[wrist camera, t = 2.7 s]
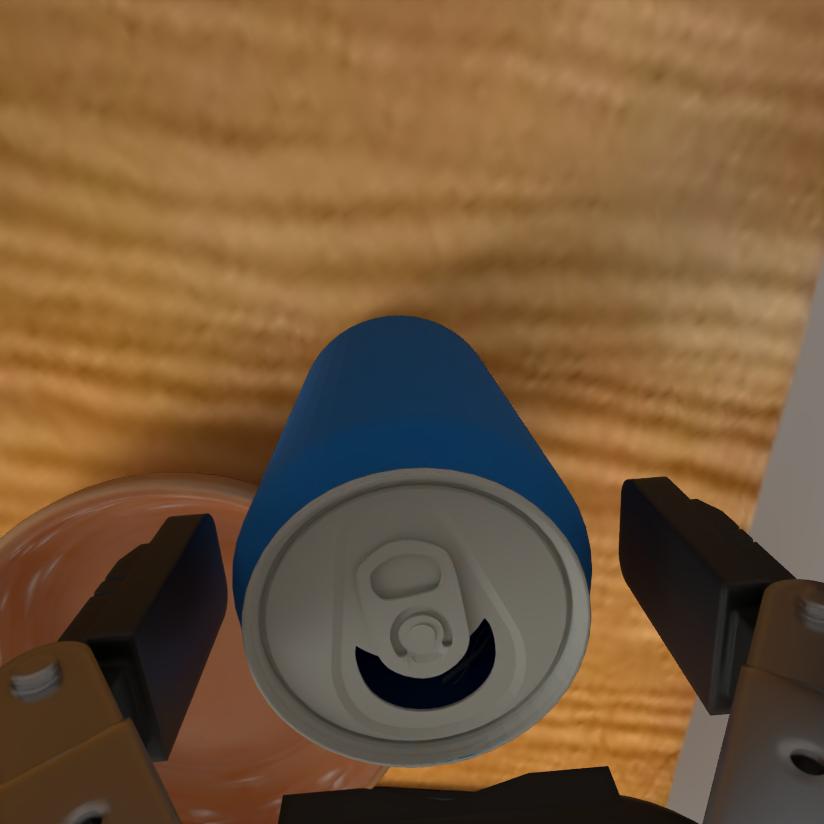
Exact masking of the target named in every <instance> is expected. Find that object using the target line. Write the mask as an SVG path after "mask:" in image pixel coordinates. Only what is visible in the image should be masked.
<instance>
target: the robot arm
mask: <svg viewBox="0 0 824 824" xmlns="http://www.w3.org/2000/svg"><path fill="white" fill-rule="evenodd" d="M619 561H620V567H621V571H622V574H623V577H624V579H625V582H626V583H627V585H628V587H629V588H630V590H631V591H632V593H633V594H634V596H635V598H636V599H637V601H638V602H639V604H640V606H641V607H642V609H643V610H644V612H645V613H646V615H647V617H648V618H649V620H650V621H651V623H652V624H653V626H654V628H655V629H656V631H657V632H658V634H659V635H660V637H661V639H662V640H663V642H664V643H665V645H666V646H667V648H668V650H669V651H670V653H671V654H672V656H673V658H674V659H675V661H676V662H677V664H678V665H679V667H680V669H681V670H682V672H683V673H684V675H685V676H686V678H687V680H688V681H689V683H690V684H691V686H692V687H693V689H694V691H695V692H696V694H697V695H698V697H699V698H700V700H701V701H702V703H703V705H704V706H705V708H706V710H707V711H708V712H709V714H710V715H722V714H730V716H729V719H728V724H727V727H726V731H725V736H724V740H723V743H722V748H721V752H720V755H719V760H718V763H717V768H716V772H715V776H714V780H713V784H712V788H711V792H710V796H709V800H708V804H707V808H706V812H705V816H704V820H703V824H824V583H822V582H817V581H812V580H803V579H796V578H795V577H794V576H793V575H792V574H791V573H790V572H789V571H788V570H786V569H785V568H784V567H783V566H782V565H781V564H780V563H779V562H778V561H777V560H775V559H774V558H773V557H772V556H771V555H770V554H769V553H768V552H767V551H765V550H764V549H763V548H762V547H761V546H760V545H759V544H758V543H757V542H753V539H752V538H751V537H750V536H749V535H748V534H747V533H746V532H745V531H744V530H742V529H739V526H738V525H737V524H736V523H735V522H734V521H733V520H731V519H730V518H729V517H728V516H727V515H726V514H725V513H724V512H723V511H721V510H719V509H717V508H715V507H713V506H711V505H709V504H707V503H704V502H702V501H700V500H698V499H689V498H688V497H687V496H686V495H685V494H684V493H683V492H682V491H681V490H680V489H679V488H678V487H677V486H676V485H675V484H674V483H673V482H672V481H671V480H670V479H668V478H667V477H652V478H640V479H628V480H625V482H624V483H623V486H622V491H621V510H620V532H619ZM227 602H228V587H227V580H226V575H225V570H224V565H223V560H222V555H221V550H220V545H219V540H218V535H217V530H216V526H215V522H214V519H213V517H212V516H211V515H210V514H209V513H205V514H192V515H180V516H170V517H168V518H167V519H166V520H165V522H164V523H163V525H162V526H161V528H160V529H159V530H158V532H157V533H156V535H155V536H154V537H153V539H152V540H151V542H150V543H148V544H140V545H139V546H138V547H136V548H135V549H133V550H132V551H131V552H129V553H128V554H127V555H125V556H124V557H122V558H121V559H120V560H118V562H117V563H116V564H115V566H114V567H113V568H112V569H111V571H110V572H109V573H108V575H107V576H106V577H105V581H103V582H102V583H101V584H100V585H99V587H98V588H97V589H96V591H95V592H94V596H93V597H90V598H89V600H88V601H87V602H86V604H85V605H84V606H83V608H82V609H81V610H80V612H79V613H78V614H77V616H76V617H75V618H74V619H73V621H72V622H71V623H70V625H69V626H68V627H67V629H66V630H65V631H64V633H63V634H62V635H61V637H60V638H59V639H58V641H57V642H54V643H49V644H45V645H42V646H39V647H36V648H34V649H31V650H29V651H26V652H24V653H22V654H20V655H18V656H17V657H15V658H13V659H11V660H10V661H8V662H7V663H5V664H4V665H2V666H1V667H0V824H183V823H182V821H181V819H180V817H179V815H178V813H177V811H176V809H175V807H174V805H173V803H172V801H171V799H170V797H169V795H168V793H167V791H166V789H165V787H164V785H163V783H162V780H161V778H160V776H159V774H158V772H157V770H156V768H155V766H154V764H153V762H163V761H168V758H169V756H170V753H171V751H172V748H173V746H174V743H175V741H176V738H177V736H178V733H179V731H180V728H181V726H182V723H183V721H184V718H185V715H186V713H187V710H188V708H189V705H190V703H191V700H192V698H193V695H194V693H195V690H196V688H197V685H198V683H199V680H200V678H201V675H202V673H203V670H204V668H205V665H206V662H207V660H208V657H209V655H210V652H211V650H212V647H213V645H214V642H215V640H216V637H217V635H218V632H219V630H220V627H221V625H222V622H223V620H224V617H225V614H226V610H227ZM278 824H698V823H696V822H695V821H693V820H691V819H689V818H687V817H685V816H682V815H681V814H678V813H677V812H674V811H672V810H670V809H667V808H665V807H662V806H659V805H657V804H654V803H651V802H648V801H644V800H640V799H637V798H633V797H628V796H623V795H619V793H618V790H617V787H616V785H615V782H614V780H613V777H612V775H611V772H610V770H609V767H608V766H604V767H593V768H581V769H570V770H559V771H548V772H536V773H528V774H525V775H522V776H519V777H516V778H513V779H511V780H508V781H505V782H502V783H499V784H496V785H493V786H491V787H488V788H485V789H482V790H479V791H476V792H473V793H471V794H468V795H465V796H462V797H459V798H456V799H452V800H437V799H430V798H424V797H418V796H411V795H405V794H399V793H392V792H386V791H380V790H373V789H367V788H356V789H345V790H334V791H323V792H311V793H300V794H289V795H283V797H282V803H281V808H280V814H279V820H278Z"/></svg>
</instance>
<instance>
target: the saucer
mask: <svg viewBox="0 0 824 824" xmlns="http://www.w3.org/2000/svg"><path fill="white" fill-rule="evenodd" d="M258 487H259V486H258V485H255V484H252V483H248V482H245V481H241V480H237V479H233V478H228V477H223V476H216V475H209V474H201V473H187V472H163V473H150V474H141V475H133V476H128V477H123V478H118V479H114V480H109V481H105V482H102V483H99V484H96V485H93V486H90V487H87V488H84V489H82V490H79V491H77V492H74V493H72V494H70V495H68V496H66V497H64V498H62V499H60V500H58V501H56V502H54V503H52V504H50V505H48V506H46V507H45V508H43V509H41V510H39V511H38V512H36V513H34V514H33V515H31V516H29V517H28V518H26V519H25V520H23V521H22V522H20V523H19V524H18V525H16V526H15V527H14V528H12V529H11V530H10V531H8V532H7V533H6V534H5V535H4V536H3V537H2V538H1V539H0V667H1V666H2V665H4V664H5V663H7V662H8V661H10V660H11V659H13V658H15V657H17V656H18V655H20V654H22V653H24V652H26V651H29V650H31V649H34V648H36V647H39V646H42V645H45V644H49V643H54V642H57V641H58V639H59V638H60V637H61V635H62V634H63V633H64V631H65V630H66V629H67V627H68V626H69V625H70V623H71V622H72V621H73V619H74V618H75V617H76V616H77V614H78V613H79V612H80V610H81V609H82V608H83V606H84V605H85V604H86V602H87V601H88V600H89V598H90V597H93V596H94V592H95V591H96V589H97V588H98V587H99V585H100V584H101V583H102V582H103V581H105V577H106V576H107V575H108V573H109V572H110V571H111V569H112V568H113V567H114V566H115V564H116V563H117V562H118V560H120V559H121V558H122V557H124V556H125V555H127V554H128V553H129V552H131V551H132V550H133V549H135V548H136V547H138V546H139V545H140V544H148V543H150V542H151V540H152V539H153V537H154V536H155V535H156V533H157V532H158V530H159V529H160V528H161V526H162V525H163V523H164V522H165V520H166V519H167V518H168V517H170V516H180V515H192V514H205V513H209V514H210V515H211V516H212V517H213V519H214V522H215V526H216V530H217V535H218V540H219V545H220V550H221V555H222V560H223V565H224V570H225V575H226V580H227V587H228V602H227V610H226V614H225V617H224V620H223V622H222V625H221V627H220V630H219V632H218V635H217V637H216V640H215V642H214V645H213V647H212V650H211V652H210V655H209V657H208V660H207V662H206V665H205V668H204V670H203V673H202V675H201V678H200V680H199V683H198V685H197V688H196V690H195V693H194V695H193V698H192V700H191V703H190V705H189V708H188V710H187V713H186V715H185V718H184V721H183V723H182V726H181V728H180V731H179V733H178V736H177V738H176V741H175V743H174V746H173V748H172V751H171V753H170V756H169V758H168V761H163V762H153V764H154V766H155V768H156V770H157V772H158V774H159V776H160V778H161V780H162V783H163V785H164V787H165V789H166V791H167V793H168V795H169V797H170V799H171V801H172V803H173V805H174V807H175V809H176V811H177V813H178V815H179V817H180V819H181V821H182V823H183V824H278V820H279V814H280V808H281V803H282V797H283V795H289V794H300V793H311V792H323V791H334V790H345V789H356V788H367V789H372V788H373V787H374V786H375V785H376V784H377V783H378V782H379V780H380V779H381V778H382V777H383V776H384V774H385V773H386V772H387V770H388V769H389V766H382V765H374V764H369V763H365V762H361V761H357V760H353V759H349V758H347V757H344V756H341V755H339V754H336V753H333V752H331V751H329V750H327V749H325V748H323V747H321V746H319V745H317V744H315V743H313V742H311V741H310V740H308V739H307V738H305V737H304V736H302V735H301V734H299V733H298V732H296V731H295V730H294V729H293V728H292V727H291V726H289V725H288V724H287V723H286V722H285V721H284V720H282V719H281V718H280V716H279V715H278V714H277V713H276V712H275V711H274V710H273V709H272V707H271V706H270V705H269V704H268V702H267V701H266V699H265V698H264V697H263V695H262V694H261V692H260V691H259V689H258V687H257V685H256V683H255V681H254V679H253V677H252V675H251V673H250V670H249V667H248V663H247V660H246V657H245V654H244V647H243V640H242V629H241V626H240V623H239V619H238V616H237V613H236V609H235V603H234V596H233V589H232V572H233V558H234V553H235V547H236V542H237V539H238V536H239V533H240V530H241V527H242V524H243V521H244V519H245V517H246V514H247V512H248V510H249V507H250V505H251V503H252V501H253V498H254V496H255V494H256V491H257V489H258Z"/></svg>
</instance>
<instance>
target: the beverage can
mask: <svg viewBox="0 0 824 824" xmlns="http://www.w3.org/2000/svg"><path fill="white" fill-rule="evenodd" d="M591 577H592V562H591V549H590V544H589V539H588V535H587V530H586V526H585V524H584V521H583V518H582V516H581V513H580V511H579V508H578V506H577V504H576V503H575V501H574V499H573V497H572V496H571V494H570V492H569V491H568V489H567V487H566V486H565V484H564V483H563V481H562V480H561V478H560V477H559V475H558V474H557V472H556V471H555V469H554V468H553V466H552V465H551V463H550V462H549V460H548V459H547V457H546V456H545V455H544V453H543V452H542V450H541V449H540V447H539V446H538V444H537V443H536V441H535V440H534V438H533V437H532V435H531V434H530V432H529V431H528V429H527V428H526V426H525V425H524V423H523V422H522V420H521V419H520V417H519V416H518V414H517V413H516V411H515V410H514V408H513V407H512V405H511V404H510V402H509V401H508V399H507V398H506V396H505V395H504V393H503V392H502V390H501V389H500V387H499V386H498V384H497V383H496V382H495V380H494V379H493V377H492V376H491V374H490V373H489V371H488V370H487V368H486V367H485V365H484V364H483V362H482V361H481V359H480V358H479V356H478V355H477V354H476V352H475V351H474V350H473V349H472V347H471V346H470V345H469V344H468V343H466V342H465V341H464V340H463V339H462V338H461V337H460V336H458V335H457V334H456V333H454V332H453V331H451V330H449V329H448V328H446V327H444V326H442V325H440V324H438V323H435V322H432V321H430V320H426V319H422V318H418V317H411V316H386V317H380V318H374V319H371V320H368V321H365V322H362V323H360V324H357V325H355V326H353V327H351V328H349V329H348V330H346V331H344V332H343V333H341V334H340V335H338V336H337V337H336V338H335V339H334V340H332V341H331V342H330V343H329V344H328V345H327V346H326V347H325V348H324V349H323V351H322V352H321V353H320V354H319V356H318V357H317V359H316V360H315V362H314V363H313V365H312V367H311V369H310V371H309V373H308V375H307V377H306V380H305V382H304V384H303V387H302V389H301V391H300V393H299V396H298V398H297V400H296V403H295V405H294V407H293V409H292V412H291V414H290V416H289V418H288V421H287V423H286V425H285V428H284V430H283V432H282V434H281V437H280V439H279V441H278V444H277V446H276V448H275V450H274V453H273V455H272V457H271V460H270V462H269V464H268V466H267V469H266V471H265V473H264V476H263V478H262V480H261V482H260V485H259V487H258V489H257V491H256V494H255V496H254V498H253V501H252V503H251V505H250V507H249V510H248V512H247V514H246V517H245V519H244V521H243V524H242V527H241V530H240V533H239V536H238V539H237V542H236V547H235V553H234V558H233V572H232V589H233V596H234V603H235V609H236V613H237V616H238V619H239V623H240V626H241V629H242V640H243V647H244V654H245V657H246V660H247V663H248V667H249V670H250V673H251V675H252V677H253V679H254V681H255V683H256V685H257V687H258V689H259V691H260V692H261V694H262V695H263V697H264V698H265V699H266V701H267V702H268V704H269V705H270V706H271V707H272V709H273V710H274V711H275V712H276V713H277V714H278V715H279V716H280V718H281V719H282V720H284V721H285V722H286V723H287V724H288V725H289V726H291V727H292V728H293V729H294V730H295V731H296V732H298V733H299V734H301V735H302V736H304V737H305V738H307V739H308V740H310V741H311V742H313V743H315V744H317V745H319V746H321V747H323V748H325V749H327V750H329V751H331V752H333V753H336V754H339V755H341V756H344V757H347V758H349V759H353V760H357V761H361V762H365V763H369V764H374V765H382V766H389V767H407V768H415V767H431V766H438V765H445V764H451V763H455V762H459V761H463V760H467V759H470V758H474V757H476V756H479V755H482V754H484V753H487V752H490V751H492V750H494V749H496V748H498V747H500V746H502V745H504V744H506V743H508V742H510V741H512V740H513V739H515V738H516V737H518V736H519V735H521V734H523V733H524V732H526V731H527V730H529V729H530V728H531V727H532V726H533V725H535V724H536V723H537V722H538V721H540V720H541V719H542V718H543V717H544V716H545V715H546V714H547V713H548V712H549V711H550V710H551V709H552V708H553V707H554V706H555V705H556V704H557V703H558V701H559V700H560V699H561V697H562V696H563V695H564V693H565V692H566V691H567V689H568V688H569V686H570V684H571V683H572V681H573V679H574V677H575V676H576V674H577V672H578V670H579V668H580V665H581V663H582V660H583V658H584V655H585V652H586V648H587V644H588V639H589V635H590V625H591V605H590V589H591Z"/></svg>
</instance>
